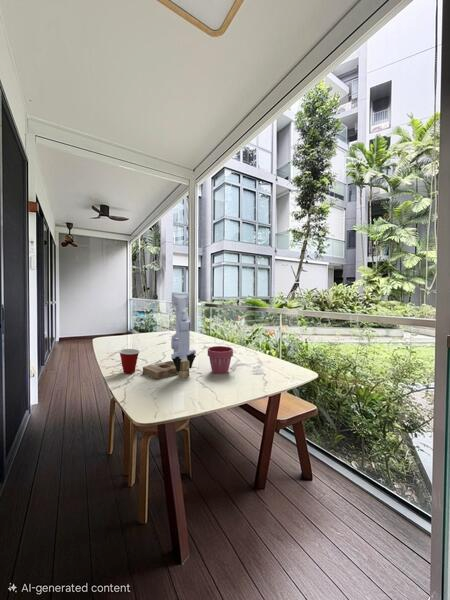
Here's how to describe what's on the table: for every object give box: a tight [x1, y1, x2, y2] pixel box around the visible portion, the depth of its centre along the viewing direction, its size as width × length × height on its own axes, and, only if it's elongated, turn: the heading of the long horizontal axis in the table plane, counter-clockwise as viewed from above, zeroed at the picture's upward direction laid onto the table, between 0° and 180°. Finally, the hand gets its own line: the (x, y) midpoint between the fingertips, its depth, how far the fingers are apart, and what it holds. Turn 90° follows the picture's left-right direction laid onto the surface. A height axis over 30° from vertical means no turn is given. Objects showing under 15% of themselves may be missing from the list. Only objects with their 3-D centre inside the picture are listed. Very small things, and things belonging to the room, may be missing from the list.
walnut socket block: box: [142, 360, 179, 380], centre depth 144 cm, size 18×14×4 cm
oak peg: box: [178, 360, 190, 379], centre depth 138 cm, size 4×4×8 cm
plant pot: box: [207, 345, 234, 375], centre depth 146 cm, size 14×14×13 cm
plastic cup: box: [118, 348, 141, 375], centre depth 144 cm, size 11×11×12 cm
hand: (183, 369), depth 138 cm, fingers open, 7 cm apart
